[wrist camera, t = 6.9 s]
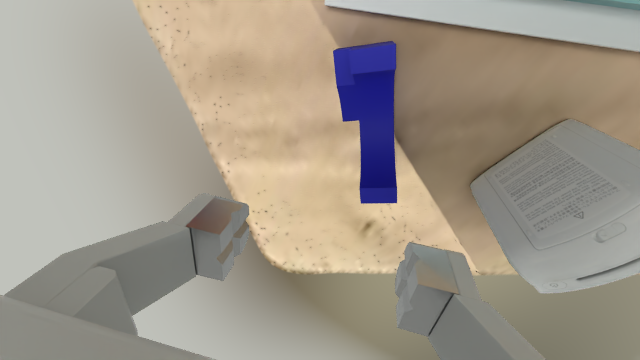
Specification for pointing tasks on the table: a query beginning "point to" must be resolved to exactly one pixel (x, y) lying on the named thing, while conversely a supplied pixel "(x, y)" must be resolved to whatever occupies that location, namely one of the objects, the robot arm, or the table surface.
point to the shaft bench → (524, 17)
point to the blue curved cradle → (371, 113)
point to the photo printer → (566, 208)
